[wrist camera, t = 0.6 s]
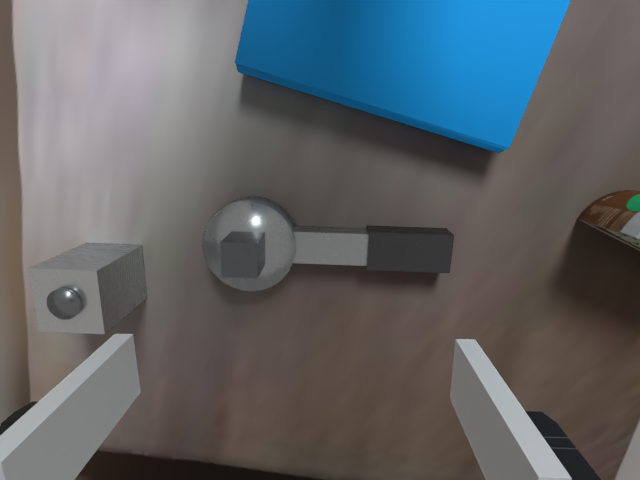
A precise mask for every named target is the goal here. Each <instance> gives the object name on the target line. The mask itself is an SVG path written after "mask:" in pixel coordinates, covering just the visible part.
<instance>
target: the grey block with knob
mask: <svg viewBox="0 0 640 480" xmlns="http://www.w3.org/2000/svg"><path fill="white" fill-rule="evenodd" d="M28 271H29V277H30V283H31V288H32V294H33V300H34V305H35V311H36V317H37V322H38V328H39V332H62V333H85V334H106V333H107V332H108V331H109V330H110V329H111V328H113V327H114V326H115V325H116V324H117V323H118V322H120V321H121V320H122V319H123V318H124V317H125V316H126V315H128V314H129V313H130V312H131V311H132V310H133V309H135V308H136V307H137V306H138V305H139V304H140V303H141V302H143V301H144V300H145V299H146V298H147V292H146V282H145V271H144V261H143V250H142V245H130V244H102V243H85V244H83V245H80V246H78V247H76V248H73V249H71V250H69V251H67V252H64V253H62V254H60V255H57V256H55V257H53V258H51V259H48V260H46V261H44V262H41V263H39V264H37V265H34V266H32V267H30V268H28Z"/></svg>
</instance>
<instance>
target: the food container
mask: <svg viewBox="0 0 640 480" xmlns="http://www.w3.org/2000/svg"><path fill="white" fill-rule="evenodd" d="M577 219H578V220H580V221H582V222H584V223H586V224H588V225H590V226H591V227H593V228H595V229H597V230H599V231H601V232H603V233H605V234H607V235H609V236H611V237H613V238H615V239H617V240H619V241H621V242H623V243H625V244H627V245H629V246H631V247H633V248H635V249H637V250H639V251H640V191H630V190H625V191H617V192H613V193H610V194H607V195H605V196H603V197H601V198H599V199H597V200H596V201H594V202H593V203H592V204H590V205H589V206H588V207H587V208H586V209H585V210H584V211H583V212H582V213H581V214H580V216H579V217H578V218H577Z"/></svg>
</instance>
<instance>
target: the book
mask: <svg viewBox="0 0 640 480" xmlns="http://www.w3.org/2000/svg"><path fill="white" fill-rule="evenodd" d="M569 3H570V0H249V1H248V5H247V10H246V14H245V19H244V23H243V28H242V33H241V37H240V42H239V46H238V51H237V55H236V60H235V63H236V66H237V70H238V72H240V73H243V74H246V75H249V76H252V77H256V78H259V79H262V80H265V81H269V82H272V83H275V84H278V85H281V86H285V87H288V88H291V89H294V90H297V91H301V92H304V93H307V94H310V95H314V96H317V97H320V98H323V99H326V100H330V101H333V102H336V103H339V104H342V105H346V106H349V107H352V108H355V109H358V110H362V111H365V112H368V113H371V114H375V115H378V116H381V117H384V118H387V119H391V120H394V121H397V122H400V123H403V124H407V125H410V126H413V127H416V128H420V129H423V130H426V131H429V132H432V133H436V134H439V135H442V136H445V137H448V138H452V139H455V140H458V141H461V142H464V143H468V144H471V145H474V146H477V147H481V148H484V149H487V150H490V151H493V152H497V153H500V152H503V151H504V150H505V149H507V148H510V145H511V143H512V140H513V138H514V136H515V133H516V131H517V128H518V126H519V123H520V121H521V119H522V116H523V114H524V111H525V109H526V107H527V104H528V102H529V99H530V97H531V95H532V92H533V90H534V87H535V85H536V82H537V80H538V78H539V75H540V73H541V70H542V68H543V66H544V63H545V61H546V58H547V56H548V54H549V51H550V49H551V46H552V44H553V41H554V39H555V37H556V34H557V32H558V29H559V27H560V25H561V22H562V20H563V17H564V15H565V13H566V10H567V8H568V5H569Z"/></svg>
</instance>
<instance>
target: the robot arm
mask: <svg viewBox="0 0 640 480" xmlns="http://www.w3.org/2000/svg"><path fill="white" fill-rule="evenodd" d="M140 393H141V390H140V383H139V375H138V368H137V360H136V353H135V345H134V338H133V334H114V335H113V336H112V337H111V338H109V339H108V340H107V341H106V342H105V343H104V344H103V345H102V346H100V347H99V348H98V349H97V350H96V351H95V352H94V353H93V354H91V355H90V356H89V357H88V358H87V359H86V360H85V361H84V362H82V363H81V364H80V365H79V366H78V367H77V368H76V369H75V370H73V371H72V372H71V373H70V374H69V375H68V376H67V377H66V378H64V379H63V380H62V381H61V382H60V383H59V384H58V385H57V386H55V387H54V388H53V389H52V390H51V391H50V392H49V393H48V394H46V395H45V396H44V397H43V398H42V399H41V400H40V401H39V402H31V403H30V404H28V405H26V406H24V407H23V408H21V409H19V410H17V411H16V412H14V413H13V414H12V415H11V416H9V417H8V418H7V419H6V420H5V421H4V422H2V423H1V426H0V480H74V479H75V478H76V476H77V475H78V474H79V473H80V471H81V470H82V469H83V467H84V466H85V465H86V464H87V462H88V461H89V460H90V458H91V457H92V456H93V454H94V453H95V452H96V450H97V449H98V448H99V447H100V445H101V444H102V443H103V441H104V440H105V439H106V437H107V436H108V435H109V433H110V432H111V431H112V430H113V428H114V427H115V426H116V424H117V423H118V422H119V420H120V419H121V418H122V416H123V415H124V414H125V412H126V411H127V410H128V409H129V407H130V406H131V405H132V403H133V402H134V401H135V399H136V398H137V397H138V395H139V394H140ZM450 400H451V402H452V404H453V407H454V409H455V411H456V414H457V416H458V418H459V420H460V423H461V425H462V427H463V429H464V432H465V434H466V436H467V438H468V441H469V443H470V445H471V447H472V450H473V452H474V454H475V456H476V459H477V461H478V463H479V466H480V468H481V470H482V472H483V475H484V477H485V479H486V480H601V479H600V478H599V477H598V475H597V474H596V473H595V471H594V470H593V469H592V468H591V466H590V465H589V464H588V463H587V461H586V460H585V459H584V457H583V456H582V455H581V454H580V452H579V451H578V450H576V448H575V446H574V445H573V443H572V442H571V441H570V439H567V436H566V434H565V433H564V432H563V430H562V429H561V428H560V427H559V425H558V424H557V423H556V422H555V421H553V420H552V419H551V418H549V417H548V416H547V415H545V414H544V413H542V412H528V411H525V410H524V409H523V408H522V406H521V405H520V403H519V402H518V400H517V399H516V398H515V396H514V395H513V393H512V392H511V390H510V389H509V387H508V386H507V385H506V383H505V382H504V380H503V379H502V377H501V376H500V375H499V373H498V372H497V370H496V369H495V367H494V366H493V365H492V363H491V362H490V360H489V359H488V357H487V356H486V354H485V353H484V352H483V350H482V349H481V347H480V346H479V344H478V343H477V342H476V340H475V339H456V340H455V351H454V362H453V372H452V383H451V394H450Z"/></svg>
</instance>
